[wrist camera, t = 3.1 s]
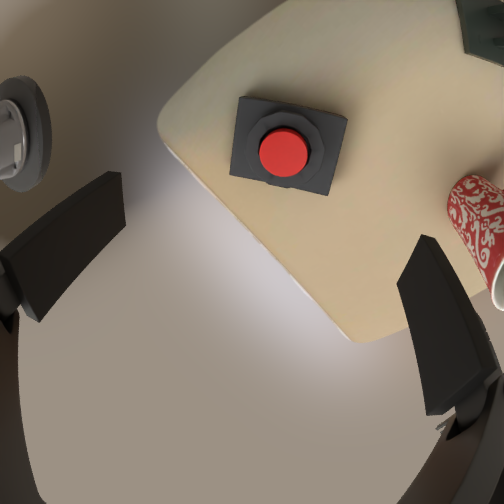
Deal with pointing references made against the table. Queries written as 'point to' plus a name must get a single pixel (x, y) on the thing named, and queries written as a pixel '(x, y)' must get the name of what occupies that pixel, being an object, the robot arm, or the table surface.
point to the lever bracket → (483, 29)
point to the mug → (481, 229)
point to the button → (283, 152)
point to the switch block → (300, 120)
